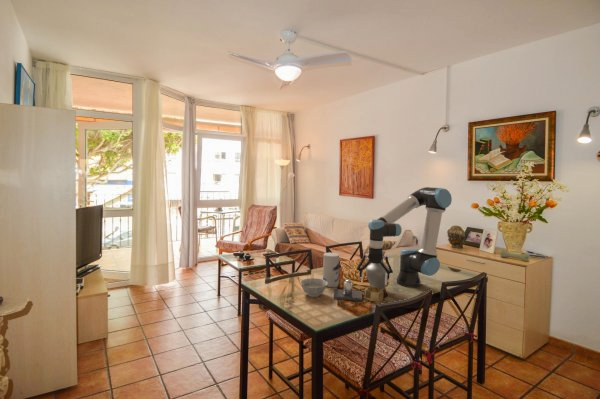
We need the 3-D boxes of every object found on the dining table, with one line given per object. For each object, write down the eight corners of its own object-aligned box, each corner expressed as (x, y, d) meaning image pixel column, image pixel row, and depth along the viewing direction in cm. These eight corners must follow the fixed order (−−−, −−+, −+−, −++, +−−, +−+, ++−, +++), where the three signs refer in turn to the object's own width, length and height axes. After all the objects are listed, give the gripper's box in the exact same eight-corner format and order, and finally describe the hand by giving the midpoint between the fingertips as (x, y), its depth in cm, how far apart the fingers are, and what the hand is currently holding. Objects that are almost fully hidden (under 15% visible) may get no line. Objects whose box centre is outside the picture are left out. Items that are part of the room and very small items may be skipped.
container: (337, 287, 206) (338, 256, 205) (321, 286, 208) (322, 255, 207) (338, 282, 216) (339, 252, 215) (323, 281, 218) (324, 251, 217)
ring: (381, 295, 195) (382, 287, 195) (383, 301, 185) (383, 293, 185) (364, 294, 196) (364, 286, 196) (365, 300, 187) (365, 291, 186)
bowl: (306, 301, 183) (307, 288, 183) (295, 291, 198) (296, 279, 197) (331, 297, 190) (332, 285, 189) (319, 288, 204) (319, 276, 204)
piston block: (361, 293, 198) (361, 277, 197) (362, 300, 186) (362, 284, 185) (334, 291, 200) (334, 276, 199) (333, 298, 188) (334, 282, 187)
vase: (387, 296, 194) (389, 254, 192) (363, 292, 199) (365, 252, 197) (390, 288, 208) (391, 249, 206) (367, 285, 212) (368, 247, 211)
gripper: (397, 247, 190) (395, 283, 192) (353, 244, 194) (351, 279, 195) (399, 250, 183) (397, 287, 185) (354, 247, 186) (352, 283, 188)
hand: (373, 283), depth 190 cm, fingers open, 13 cm apart
